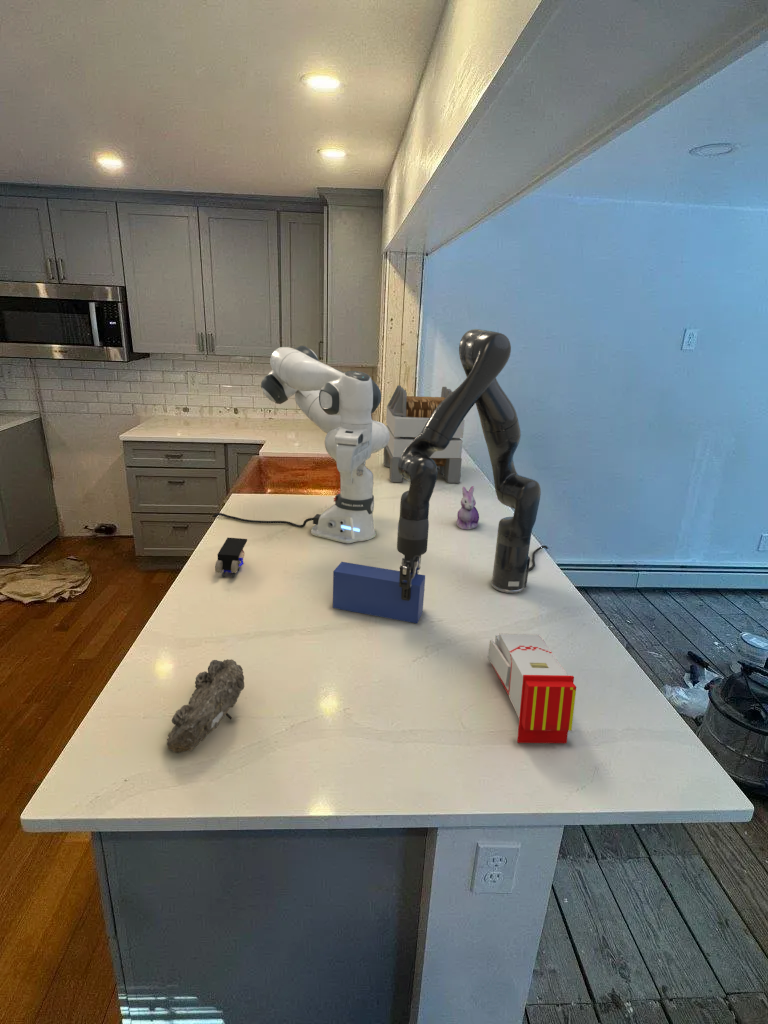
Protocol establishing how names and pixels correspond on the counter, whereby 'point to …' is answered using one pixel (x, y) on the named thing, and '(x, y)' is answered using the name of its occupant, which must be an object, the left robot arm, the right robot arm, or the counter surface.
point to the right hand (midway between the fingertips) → (408, 593)
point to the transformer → (408, 423)
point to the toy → (534, 687)
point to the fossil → (206, 705)
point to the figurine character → (230, 556)
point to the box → (376, 592)
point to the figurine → (468, 510)
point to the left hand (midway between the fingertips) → (354, 480)
